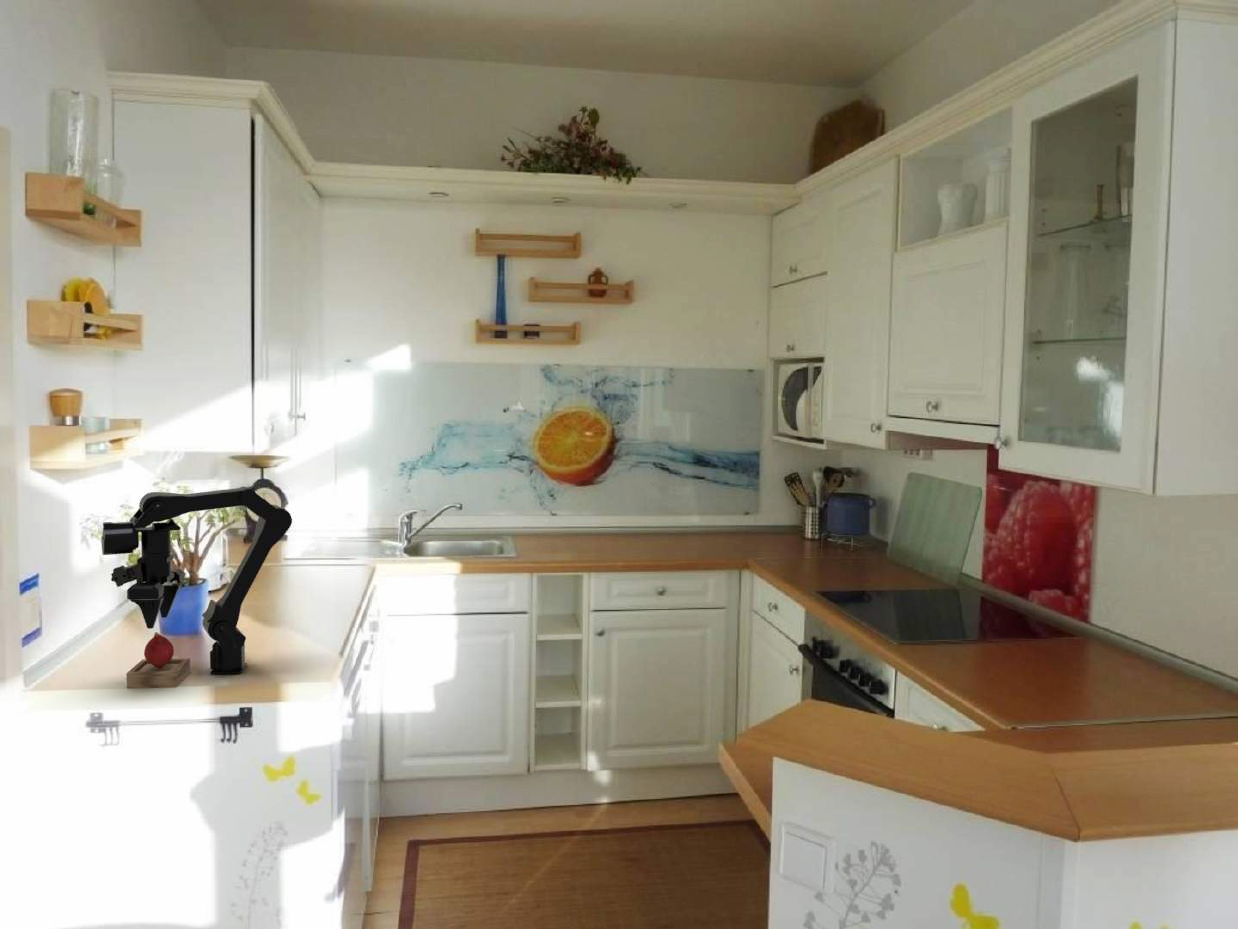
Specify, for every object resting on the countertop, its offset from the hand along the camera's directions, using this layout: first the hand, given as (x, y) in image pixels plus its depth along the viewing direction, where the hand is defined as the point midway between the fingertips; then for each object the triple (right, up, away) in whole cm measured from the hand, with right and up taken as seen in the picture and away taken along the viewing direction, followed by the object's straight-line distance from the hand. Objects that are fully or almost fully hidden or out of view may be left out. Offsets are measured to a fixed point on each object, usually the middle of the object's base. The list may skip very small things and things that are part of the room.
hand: (157, 622), depth 212 cm
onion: (0, -10, +1) cm, 10 cm away
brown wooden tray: (0, -13, +1) cm, 13 cm away
